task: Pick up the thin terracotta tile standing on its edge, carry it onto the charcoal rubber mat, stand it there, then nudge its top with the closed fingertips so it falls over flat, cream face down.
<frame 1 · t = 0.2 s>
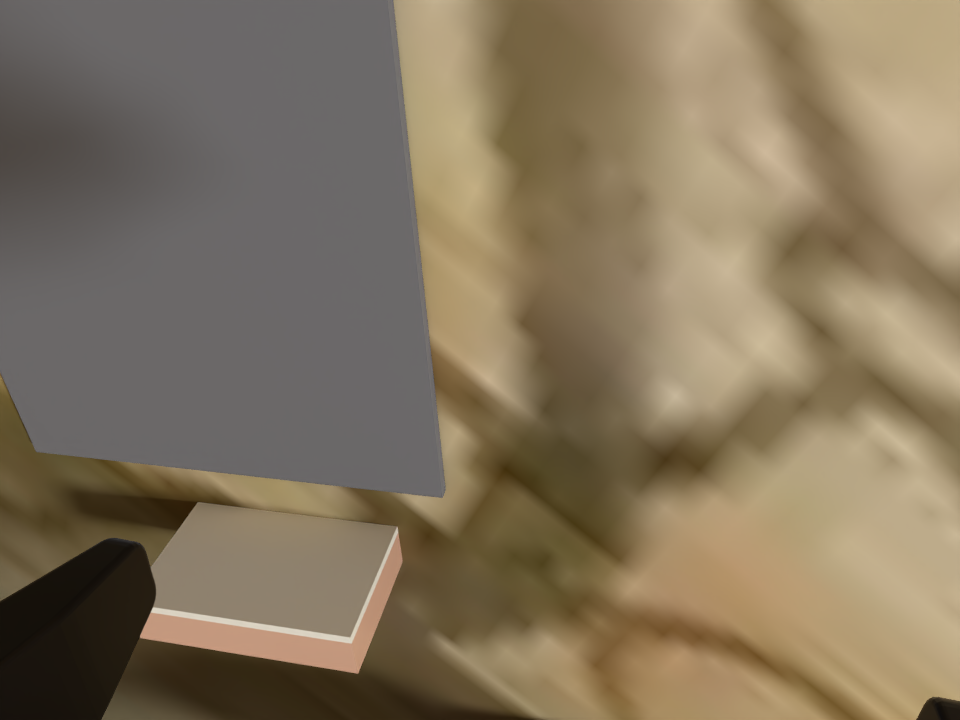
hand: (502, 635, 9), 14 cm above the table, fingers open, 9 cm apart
mat: (167, 239, 25), on the table
tile: (299, 529, 31), on the table
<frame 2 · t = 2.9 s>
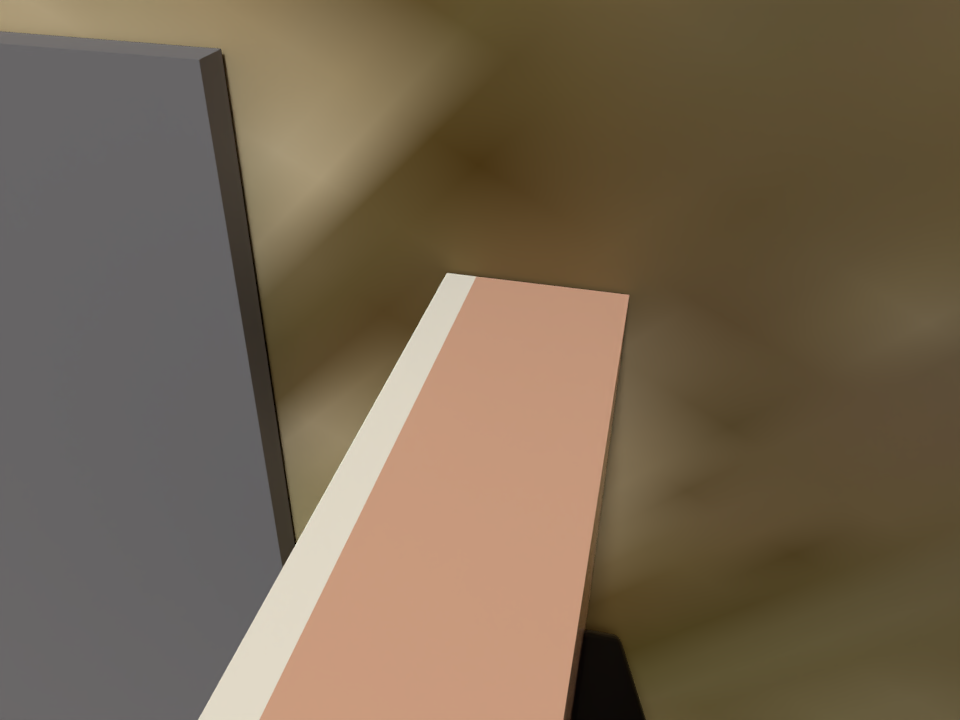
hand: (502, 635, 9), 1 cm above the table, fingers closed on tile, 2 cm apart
tile: (519, 568, 10), on the table, touching gripper
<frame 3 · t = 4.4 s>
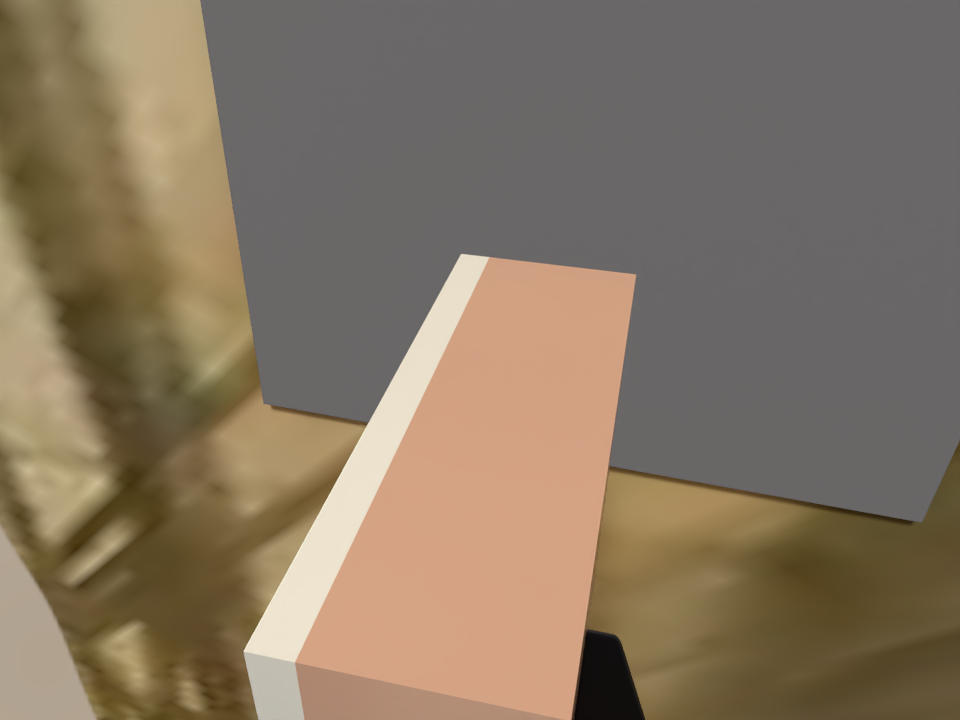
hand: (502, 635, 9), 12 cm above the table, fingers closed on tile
mat: (601, 174, 18), on the table
tile: (527, 542, 11), point 10 cm above the table, touching gripper
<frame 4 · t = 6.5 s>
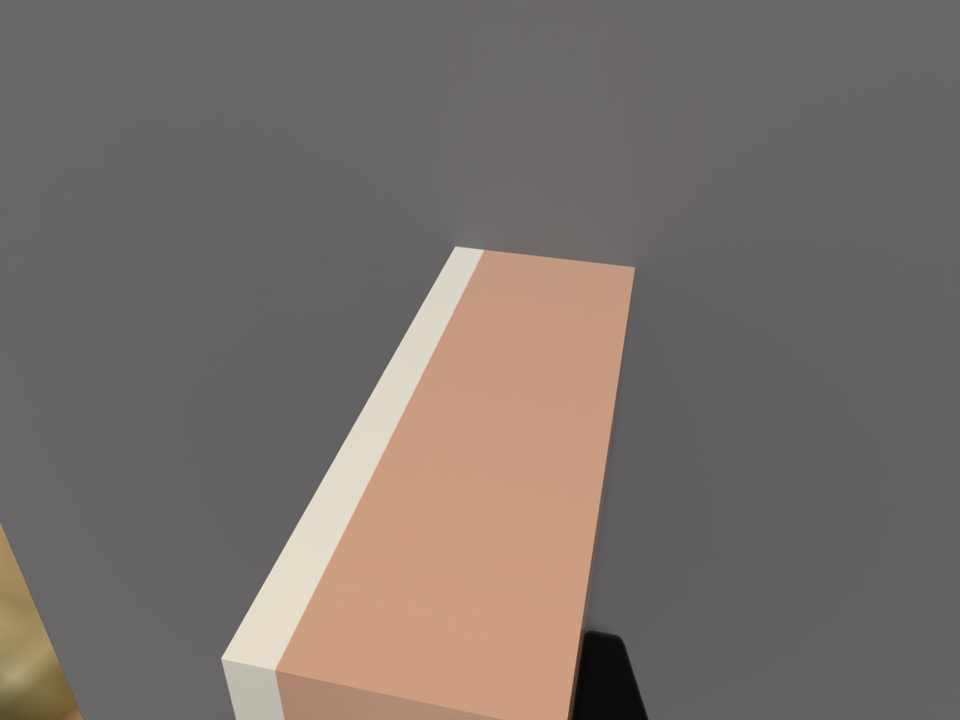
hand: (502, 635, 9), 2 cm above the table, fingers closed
mat: (608, 483, 10), on the table
tile: (524, 542, 10), resting on mat
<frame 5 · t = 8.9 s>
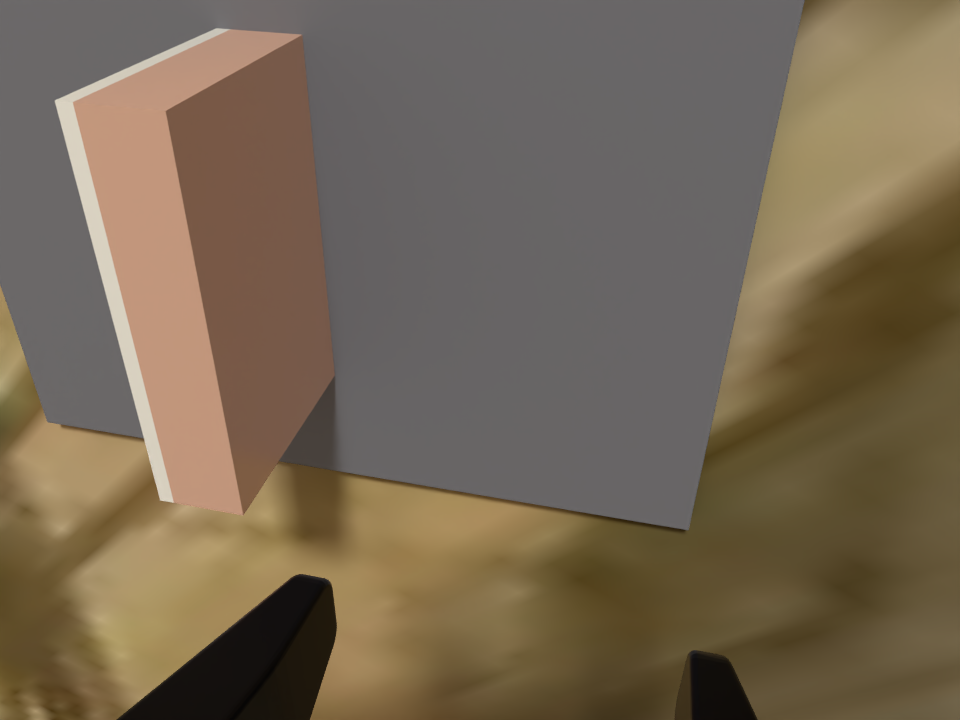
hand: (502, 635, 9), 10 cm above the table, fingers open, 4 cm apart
mat: (325, 182, 18), on the table
tile: (282, 221, 18), resting on mat
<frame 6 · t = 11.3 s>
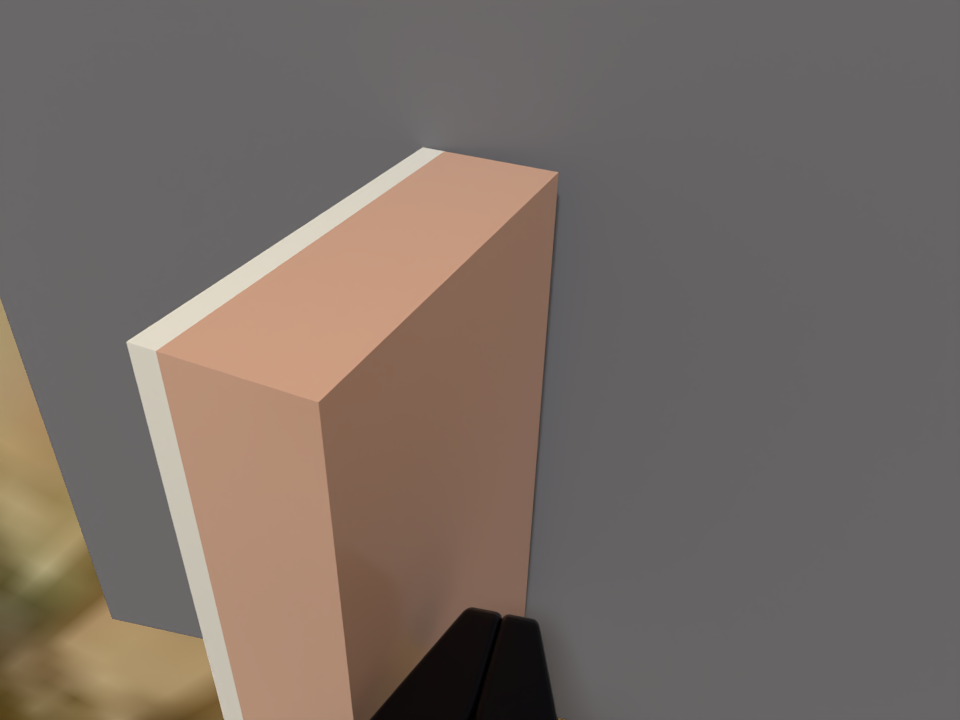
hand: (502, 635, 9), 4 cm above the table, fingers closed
mat: (555, 360, 12), on the table
tile: (481, 419, 12), point 1 cm above the table, tilted 11°, touching mat
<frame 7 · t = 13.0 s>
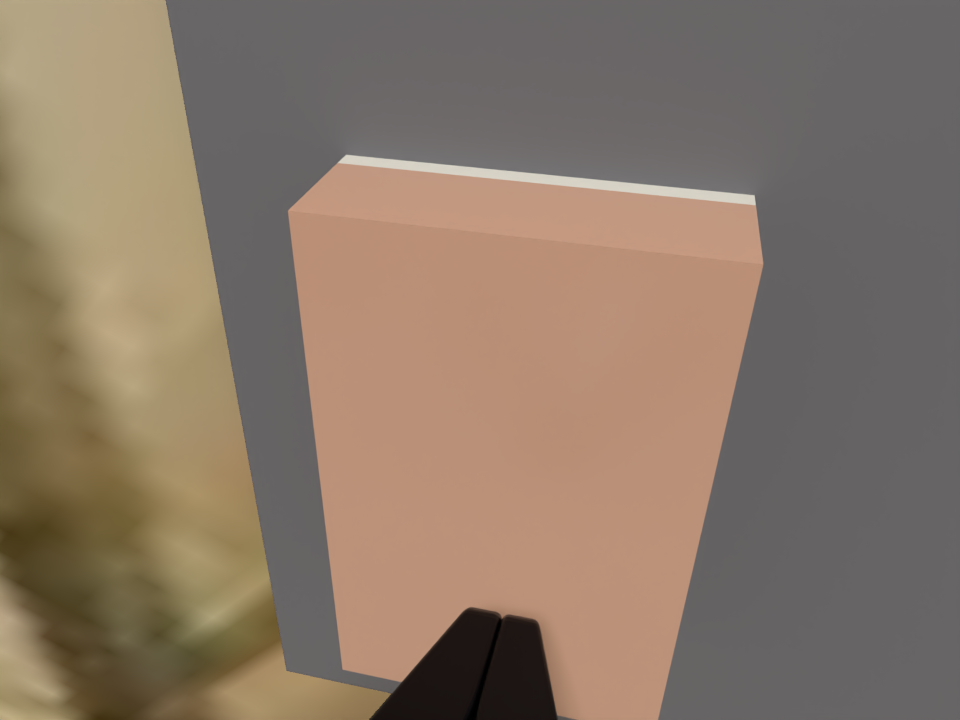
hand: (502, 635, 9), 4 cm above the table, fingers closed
mat: (846, 414, 11), on the table
tile: (697, 501, 11), point 1 cm above the table, tilted 90°, touching mat
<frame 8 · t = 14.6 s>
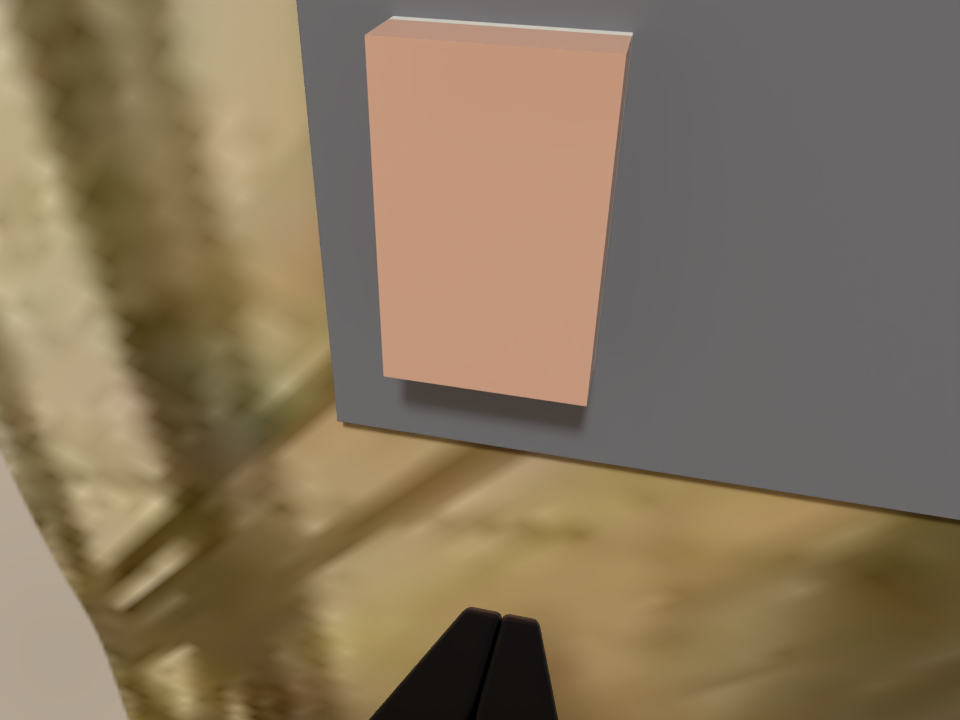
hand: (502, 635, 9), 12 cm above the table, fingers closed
mat: (701, 184, 18), on the table
tile: (607, 234, 18), point 1 cm above the table, tilted 90°, touching mat
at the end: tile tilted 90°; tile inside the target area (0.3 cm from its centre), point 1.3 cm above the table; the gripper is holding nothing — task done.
